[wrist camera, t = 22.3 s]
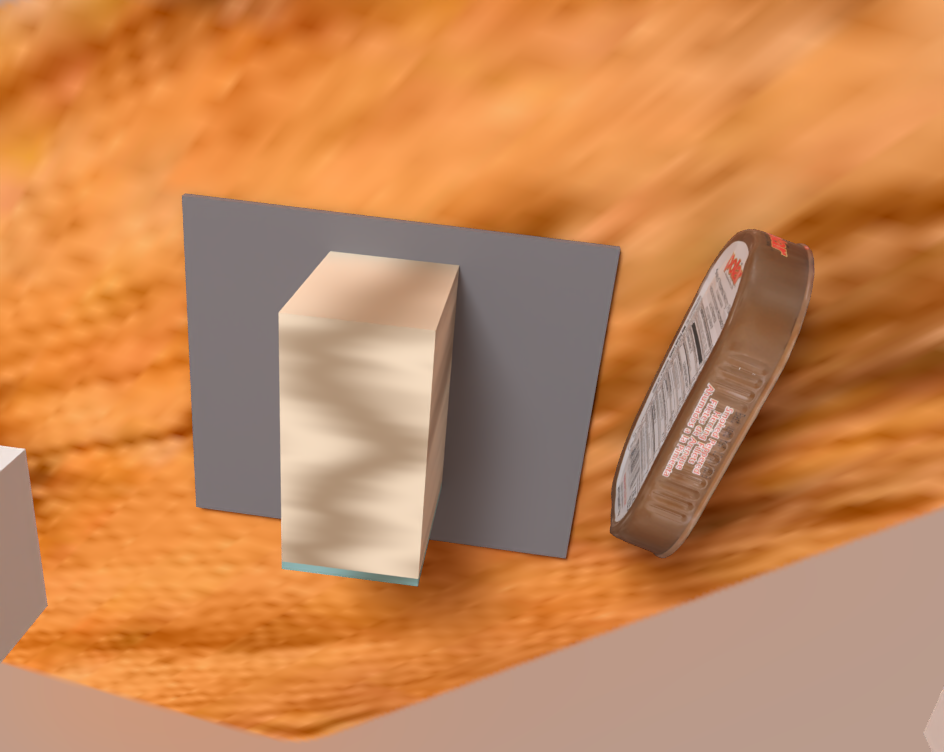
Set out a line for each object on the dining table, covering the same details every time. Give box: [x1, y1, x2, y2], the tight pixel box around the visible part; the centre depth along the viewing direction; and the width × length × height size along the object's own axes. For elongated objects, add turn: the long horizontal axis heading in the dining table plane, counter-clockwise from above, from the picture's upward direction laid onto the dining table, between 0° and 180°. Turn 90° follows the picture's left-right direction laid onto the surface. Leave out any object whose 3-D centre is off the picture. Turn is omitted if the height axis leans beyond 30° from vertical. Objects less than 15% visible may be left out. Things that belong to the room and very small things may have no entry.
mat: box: [182, 194, 620, 558], centre depth 43 cm, size 20×17×1 cm
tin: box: [610, 229, 814, 558], centre depth 37 cm, size 15×3×8 cm, turn 161°
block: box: [279, 251, 459, 586], centre depth 39 cm, size 6×8×12 cm
